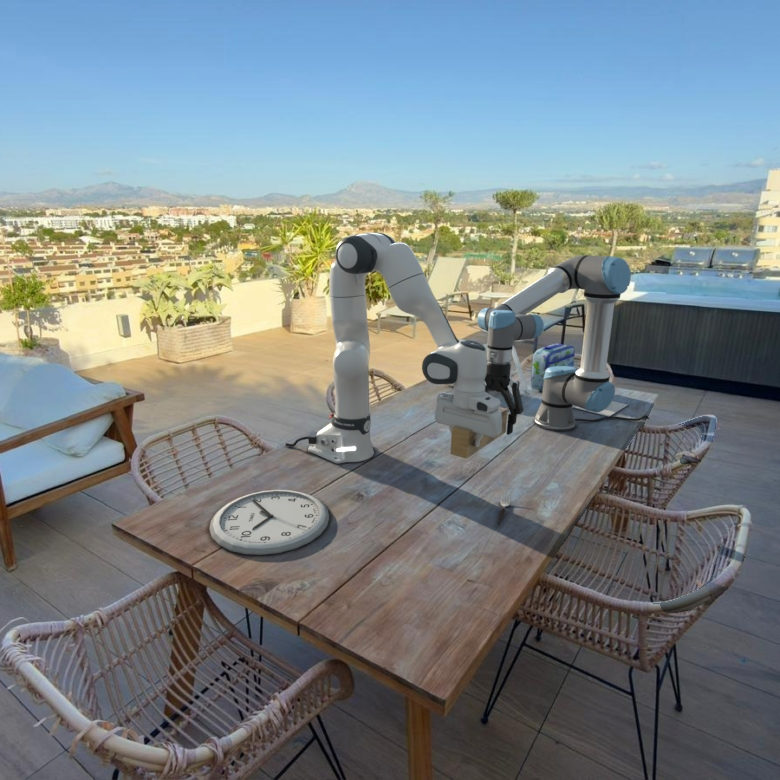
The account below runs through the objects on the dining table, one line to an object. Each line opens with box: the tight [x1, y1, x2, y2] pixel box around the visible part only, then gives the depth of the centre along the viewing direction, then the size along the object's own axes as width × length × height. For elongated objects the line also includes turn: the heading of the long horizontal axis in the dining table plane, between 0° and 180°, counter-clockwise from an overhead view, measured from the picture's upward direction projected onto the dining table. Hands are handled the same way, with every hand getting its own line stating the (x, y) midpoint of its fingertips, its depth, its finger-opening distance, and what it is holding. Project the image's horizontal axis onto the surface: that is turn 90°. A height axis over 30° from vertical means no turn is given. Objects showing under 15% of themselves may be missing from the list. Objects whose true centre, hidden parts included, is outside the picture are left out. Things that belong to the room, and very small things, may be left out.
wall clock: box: [209, 489, 330, 556], centre depth 135 cm, size 30×2×30 cm
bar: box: [449, 406, 509, 460], centre depth 159 cm, size 26×5×8 cm, turn 143°
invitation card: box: [573, 400, 629, 417], centre depth 226 cm, size 21×1×15 cm
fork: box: [497, 491, 512, 526], centre depth 140 cm, size 3×16×2 cm, turn 160°
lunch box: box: [530, 343, 576, 391], centre depth 249 cm, size 26×11×21 cm, turn 134°
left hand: (465, 443), depth 152 cm, fingers closed on bar, 5 cm apart
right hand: (493, 429), depth 166 cm, fingers open, 10 cm apart
